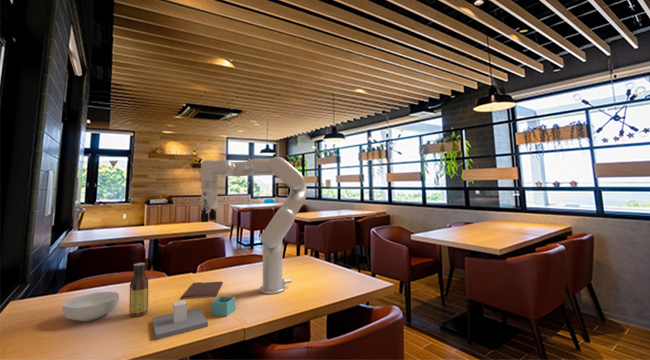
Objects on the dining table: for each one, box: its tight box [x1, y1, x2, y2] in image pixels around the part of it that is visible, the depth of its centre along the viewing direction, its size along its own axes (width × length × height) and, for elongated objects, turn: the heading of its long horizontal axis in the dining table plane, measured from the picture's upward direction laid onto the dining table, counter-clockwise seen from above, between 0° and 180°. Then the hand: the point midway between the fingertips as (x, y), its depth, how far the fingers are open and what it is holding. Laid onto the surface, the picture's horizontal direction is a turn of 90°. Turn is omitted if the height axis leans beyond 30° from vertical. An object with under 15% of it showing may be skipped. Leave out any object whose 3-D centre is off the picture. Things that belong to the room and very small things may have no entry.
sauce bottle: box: [128, 262, 149, 318], centre depth 111 cm, size 7×6×20 cm
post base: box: [151, 299, 209, 341], centre depth 102 cm, size 16×16×8 cm
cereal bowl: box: [62, 291, 120, 322], centre depth 109 cm, size 17×17×7 cm
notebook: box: [180, 281, 224, 300], centre depth 138 cm, size 15×20×2 cm
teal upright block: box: [211, 295, 236, 317], centre depth 112 cm, size 6×6×5 cm
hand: (208, 220), depth 136 cm, fingers open, 9 cm apart
